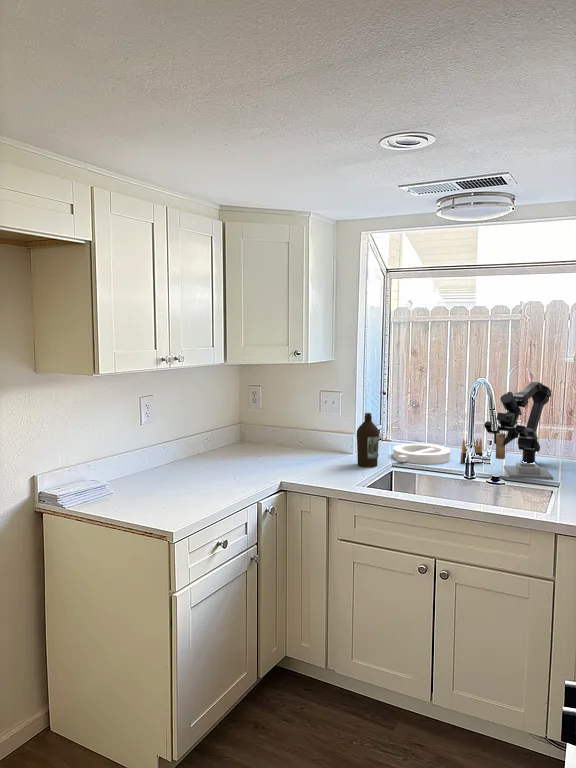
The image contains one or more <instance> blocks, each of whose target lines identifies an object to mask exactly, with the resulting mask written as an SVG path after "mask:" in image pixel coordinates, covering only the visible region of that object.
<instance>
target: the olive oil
mask: <svg viewBox="0 0 576 768" xmlns="http://www.w3.org/2000/svg"><path fill="white" fill-rule="evenodd" d="M372 418H373V417H372V413H371V412H365V413H364V420H363V422H362V423H361V424H360V425H359V426H358V428H357V430H356V454H357V458H356V459H357V466H358V467H362V468H376V467H377V466H378V460H379V459H378V458H379V442H380V431H379V428H378V427H377V426H376V424H374V422H373V421H372Z"/></svg>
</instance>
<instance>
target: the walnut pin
mask: <svg viewBox="0 0 576 768" xmlns="http://www.w3.org/2000/svg"><path fill="white" fill-rule="evenodd" d="M506 436H507V435H506V433H502V432H500V433H497V434H496V444H495V459H498V460H505V459H506V445H504V441H505V439H506Z"/></svg>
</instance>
